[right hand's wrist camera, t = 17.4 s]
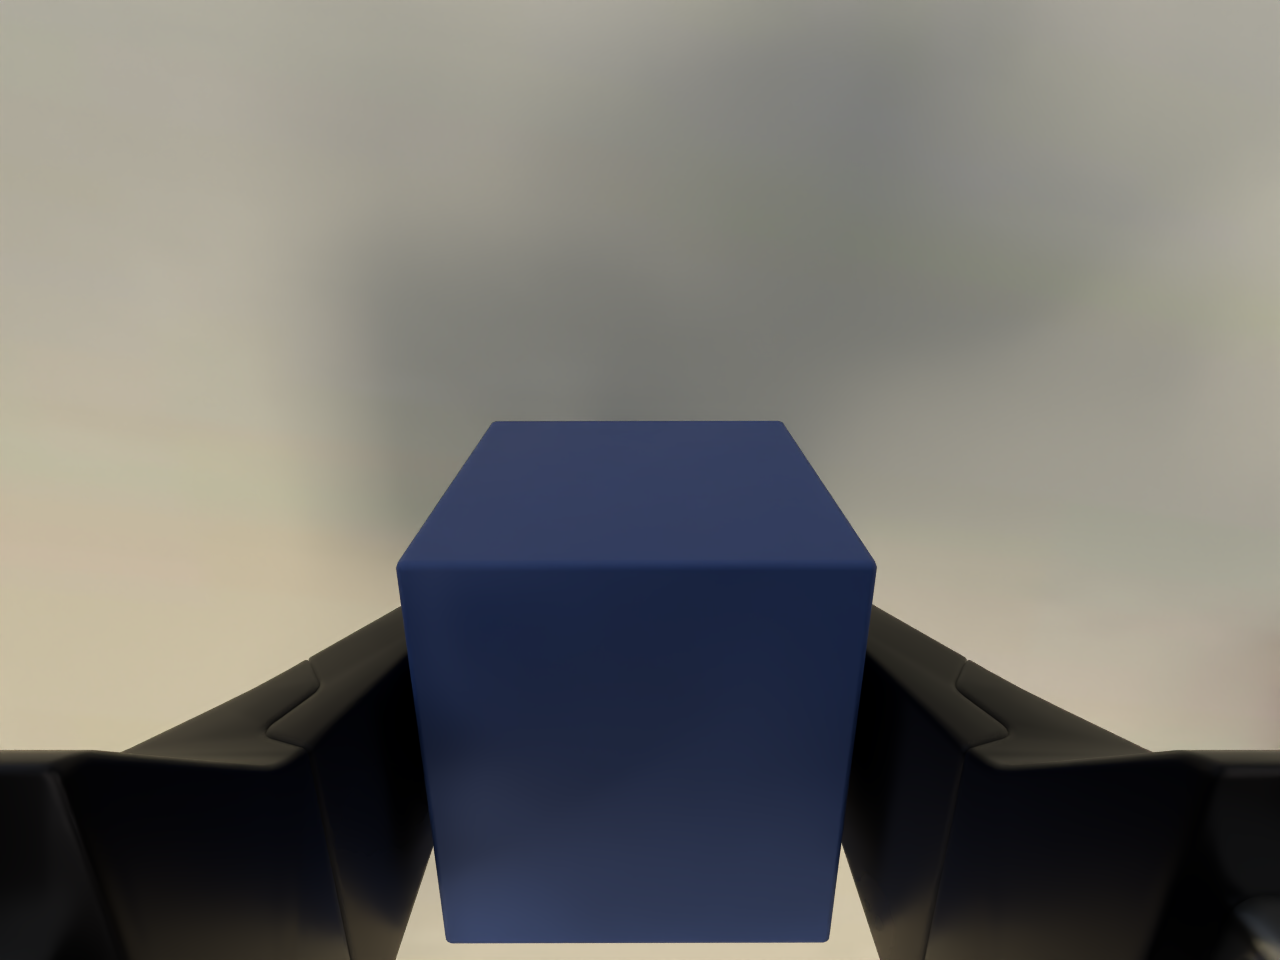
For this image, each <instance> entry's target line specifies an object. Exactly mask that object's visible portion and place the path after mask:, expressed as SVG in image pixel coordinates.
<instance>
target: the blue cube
mask: <svg viewBox="0 0 1280 960" xmlns="http://www.w3.org/2000/svg"><path fill="white" fill-rule="evenodd" d="M876 570H877V566H876V563H875V561H874V559H873V558H872V556H871V555H870V553H869V552H868V550H867V549H866V547H865V546H864V544H863V543H862V541H861V540H860V538H859V537H858V535H857V534H856V532H855V531H854V529H853V528H852V526H851V525H850V523H849V522H848V520H847V519H846V517H845V516H844V514H843V513H842V511H841V510H840V508H839V507H838V505H837V504H836V502H835V501H834V499H833V498H832V496H831V495H830V493H829V492H828V490H827V489H826V487H825V486H824V484H823V483H822V481H821V480H820V478H819V477H818V475H817V474H816V472H815V471H814V469H813V468H812V466H811V465H810V463H809V462H808V460H807V459H806V457H805V456H804V454H803V453H802V451H801V450H800V448H799V447H798V445H797V444H796V442H795V441H794V439H793V437H792V436H791V434H790V433H789V431H788V430H787V428H786V427H785V425H784V424H783V423H782V422H780V421H495V422H493V423H492V424H491V425H490V427H489V428H488V430H487V431H486V433H485V434H484V436H483V437H482V439H481V440H480V442H479V443H478V445H477V446H476V448H475V449H474V450H473V452H472V453H471V455H470V456H469V458H468V459H467V461H466V462H465V464H464V465H463V467H462V468H461V470H460V471H459V473H458V474H457V476H456V477H455V479H454V480H453V482H452V483H451V484H450V486H449V487H448V489H447V490H446V492H445V493H444V495H443V496H442V498H441V499H440V501H439V502H438V504H437V505H436V507H435V508H434V510H433V511H432V513H431V514H430V516H429V517H428V518H427V520H426V521H425V523H424V524H423V526H422V527H421V529H420V530H419V532H418V533H417V535H416V536H415V538H414V539H413V541H412V542H411V544H410V545H409V547H408V548H407V550H406V551H405V552H404V554H403V555H402V557H401V558H400V560H399V561H398V564H397V567H396V571H397V578H398V586H399V593H400V600H401V608H402V615H403V623H404V630H405V638H406V645H407V653H408V660H409V667H410V675H411V682H412V690H413V697H414V705H415V712H416V720H417V727H418V734H419V742H420V749H421V757H422V764H423V772H424V779H425V787H426V794H427V801H428V809H429V816H430V824H431V831H432V839H433V846H434V854H435V861H436V869H437V876H438V883H439V891H440V898H441V906H442V913H443V921H444V928H445V935H446V940H447V941H448V942H450V943H798V942H826V941H828V939H829V935H830V927H831V919H832V912H833V904H834V896H835V888H836V881H837V873H838V865H839V857H840V850H841V842H842V834H843V826H844V818H845V811H846V803H847V795H848V787H849V780H850V772H851V764H852V756H853V748H854V741H855V733H856V725H857V717H858V710H859V702H860V694H861V686H862V679H863V671H864V663H865V655H866V647H867V640H868V632H869V624H870V616H871V609H872V601H873V593H874V585H875V577H876Z"/></svg>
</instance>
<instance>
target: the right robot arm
mask: <svg viewBox="0 0 1280 960" xmlns="http://www.w3.org/2000/svg"><path fill="white" fill-rule="evenodd" d="M841 843H842V846H843V849H844V852H845V855H846V858H847V861H848V864H849V867H850V870H851V873H852V876H853V879H854V882H855V885H856V888H857V891H858V894H859V897H860V900H861V903H862V906H863V909H864V912H865V915H866V918H867V921H868V925H869V928H870V931H871V934H872V937H873V940H874V943H875V946H876V949H877V952H878V955H879V958H880V960H1280V750H1173V751H1162V752H1151V751H1149V750H1147V749H1144V748H1142V747H1140V746H1138V745H1136V744H1134V743H1132V742H1130V741H1128V740H1126V739H1124V738H1122V737H1119V736H1117V735H1115V734H1113V733H1111V732H1109V731H1107V730H1105V729H1103V728H1101V727H1099V726H1097V725H1095V724H1093V723H1090V722H1088V721H1086V720H1084V719H1082V718H1080V717H1078V716H1076V715H1074V714H1072V713H1070V712H1068V711H1066V710H1064V709H1062V708H1059V707H1057V706H1055V705H1053V704H1051V703H1049V702H1047V701H1045V700H1043V699H1041V698H1039V697H1037V696H1035V695H1033V694H1031V693H1029V692H1027V691H1025V690H1023V689H1021V688H1019V687H1017V686H1016V685H1014V684H1012V683H1010V682H1008V681H1006V680H1005V679H1003V678H1001V677H999V676H997V675H995V674H994V673H992V672H990V671H988V670H986V669H985V668H983V667H981V666H979V665H978V664H976V663H974V662H973V661H971V660H967V659H966V658H965V657H964V656H962V655H960V654H958V653H957V652H955V651H953V650H951V649H950V648H948V647H946V646H944V645H943V644H941V643H939V642H937V641H936V640H934V639H932V638H930V637H929V636H927V635H925V634H923V633H921V632H920V631H918V630H916V629H914V628H913V627H911V626H909V625H907V624H906V623H904V622H902V621H900V620H899V619H897V618H895V617H893V616H892V615H890V614H888V613H886V612H885V611H883V610H881V609H879V608H878V607H876V606H874V605H872V609H871V616H870V624H869V632H868V640H867V647H866V655H865V663H864V671H863V679H862V686H861V694H860V702H859V710H858V717H857V725H856V733H855V741H854V748H853V756H852V764H851V772H850V780H849V787H848V795H847V803H846V811H845V818H844V826H843V834H842V842H841ZM432 848H433V839H432V831H431V824H430V816H429V809H428V801H427V794H426V787H425V779H424V772H423V764H422V757H421V749H420V742H419V734H418V727H417V720H416V712H415V705H414V697H413V690H412V682H411V675H410V667H409V660H408V653H407V645H406V638H405V630H404V623H403V615H402V608H401V606H400V607H398V608H397V609H395V610H393V611H391V612H390V613H388V614H386V615H384V616H383V617H381V618H379V619H377V620H375V621H374V622H372V623H370V624H368V625H367V626H365V627H363V628H361V629H360V630H358V631H356V632H354V633H353V634H351V635H349V636H347V637H345V638H344V639H342V640H340V641H338V642H337V643H335V644H333V645H331V646H330V647H328V648H326V649H324V650H322V651H321V652H319V653H317V654H315V655H314V656H312V657H310V658H309V661H308V660H305V661H303V662H301V663H299V664H298V665H296V666H294V667H292V668H291V669H289V670H287V671H285V672H283V673H282V674H280V675H278V676H276V677H274V678H272V679H270V680H269V681H267V682H265V683H263V684H261V685H259V686H258V687H256V688H254V689H252V690H250V691H248V692H246V693H244V694H242V695H240V696H237V697H235V698H233V699H231V700H229V701H227V702H225V703H223V704H221V705H219V706H217V707H215V708H213V709H211V710H209V711H207V712H205V713H203V714H201V715H199V716H196V717H194V718H192V719H190V720H188V721H186V722H184V723H182V724H180V725H178V726H176V727H174V728H171V729H169V730H167V731H165V732H163V733H161V734H159V735H157V736H155V737H153V738H151V739H148V740H146V741H144V742H142V743H140V744H138V745H136V746H134V747H132V748H130V749H127V750H125V751H123V752H109V751H98V750H0V960H395V959H396V956H397V953H398V950H399V947H400V944H401V941H402V938H403V935H404V932H405V929H406V926H407V923H408V920H409V917H410V914H411V911H412V908H413V905H414V902H415V899H416V896H417V893H418V890H419V887H420V884H421V881H422V878H423V875H424V872H425V869H426V866H427V863H428V860H429V857H430V854H431V851H432Z"/></svg>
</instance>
